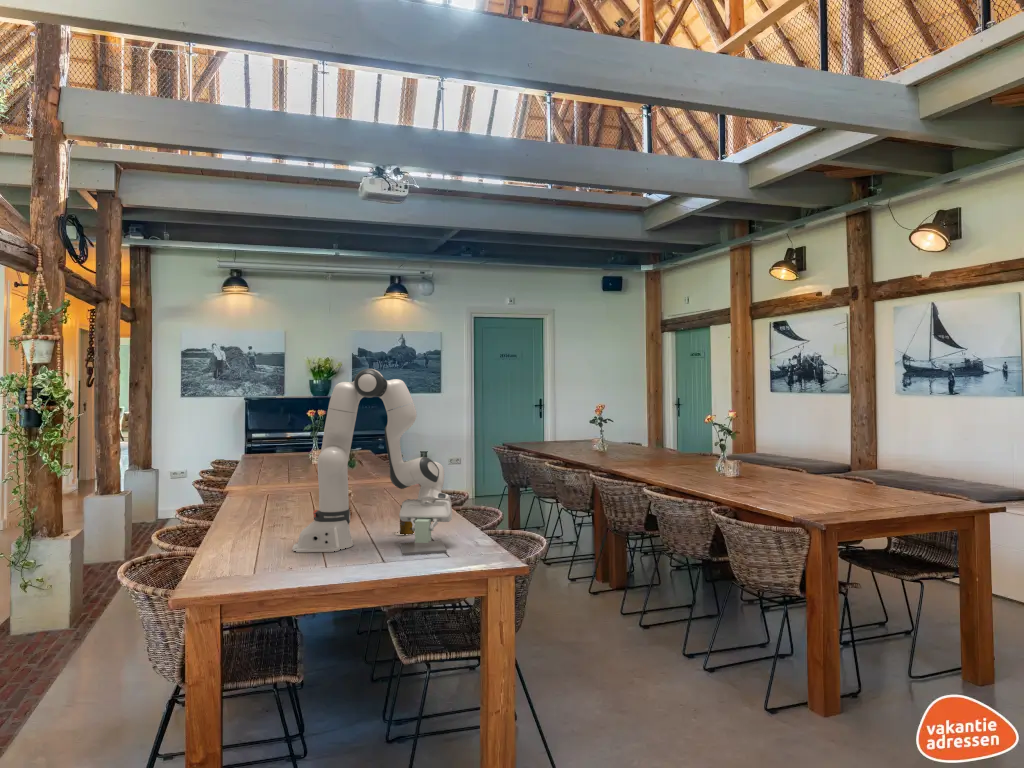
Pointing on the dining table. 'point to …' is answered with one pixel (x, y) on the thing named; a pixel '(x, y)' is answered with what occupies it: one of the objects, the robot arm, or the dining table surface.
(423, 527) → the block
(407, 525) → the condiment
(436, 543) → the board
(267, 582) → the dining table surface
